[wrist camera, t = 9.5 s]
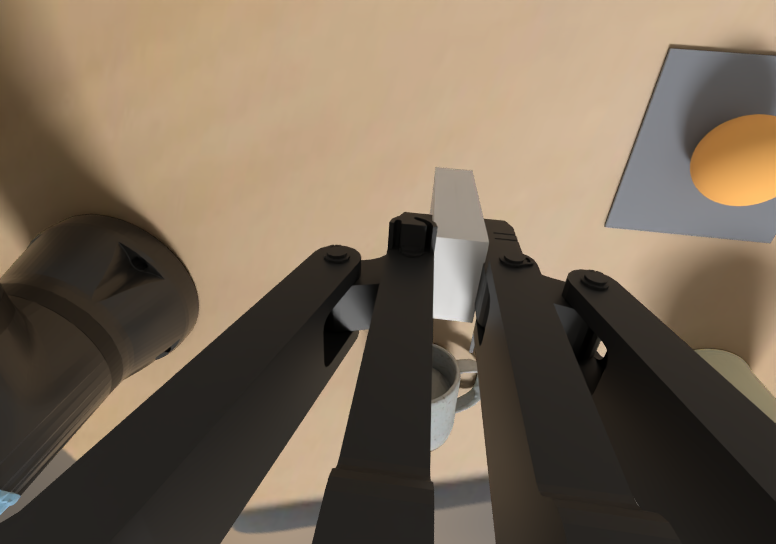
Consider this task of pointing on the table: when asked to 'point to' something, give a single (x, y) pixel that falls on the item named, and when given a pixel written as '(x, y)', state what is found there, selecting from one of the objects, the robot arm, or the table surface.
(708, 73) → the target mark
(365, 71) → the table surface
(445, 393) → the ceramic mug
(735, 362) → the can
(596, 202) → the table surface
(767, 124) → the ball
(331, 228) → the table surface
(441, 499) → the table surface
